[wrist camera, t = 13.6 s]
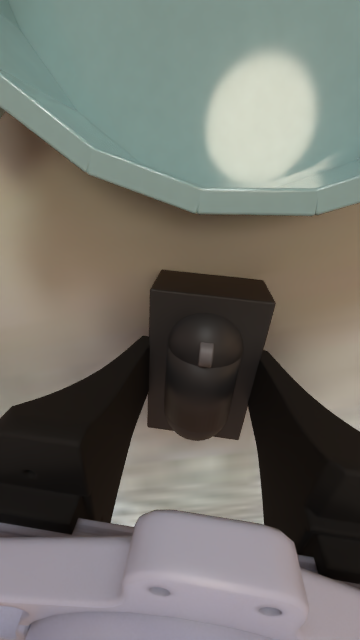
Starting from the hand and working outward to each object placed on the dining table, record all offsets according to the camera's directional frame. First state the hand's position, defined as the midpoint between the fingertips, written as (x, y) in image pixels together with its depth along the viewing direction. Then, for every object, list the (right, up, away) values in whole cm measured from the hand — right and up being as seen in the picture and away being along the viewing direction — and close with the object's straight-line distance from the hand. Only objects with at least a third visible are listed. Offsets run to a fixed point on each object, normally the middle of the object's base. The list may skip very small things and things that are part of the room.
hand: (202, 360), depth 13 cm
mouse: (0, +1, +1) cm, 1 cm away
